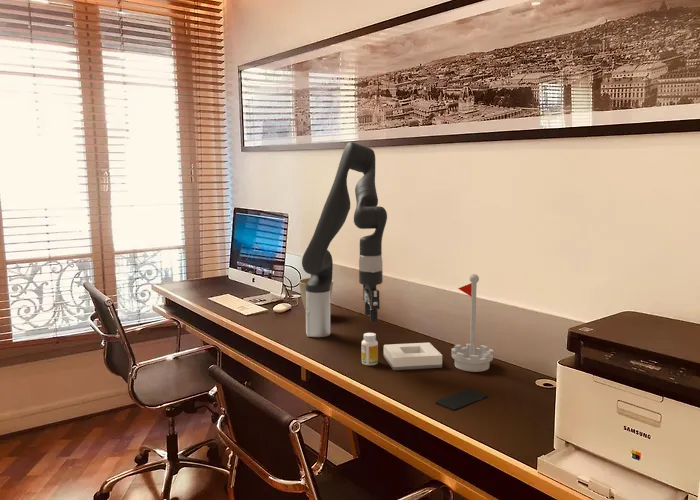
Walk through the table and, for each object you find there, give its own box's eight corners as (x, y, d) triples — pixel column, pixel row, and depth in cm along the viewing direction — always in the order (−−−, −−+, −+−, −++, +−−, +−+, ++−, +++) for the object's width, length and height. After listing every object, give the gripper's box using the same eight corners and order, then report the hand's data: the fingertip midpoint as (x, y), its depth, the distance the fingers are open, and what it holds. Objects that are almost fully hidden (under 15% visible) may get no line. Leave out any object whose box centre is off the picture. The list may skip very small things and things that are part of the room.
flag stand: (497, 363, 186) (500, 272, 181) (486, 375, 174) (489, 279, 170) (458, 357, 192) (460, 269, 188) (445, 368, 180) (447, 275, 176)
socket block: (393, 370, 179) (393, 357, 178) (383, 356, 192) (383, 344, 192) (442, 367, 181) (442, 355, 181) (429, 353, 195) (429, 342, 194)
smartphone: (489, 395, 157) (453, 409, 148) (488, 398, 158) (453, 412, 148) (469, 387, 163) (434, 401, 153) (469, 390, 163) (433, 404, 153)
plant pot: (292, 316, 246) (291, 280, 244) (318, 310, 256) (318, 276, 254) (313, 323, 235) (313, 285, 233) (340, 317, 245) (340, 280, 243)
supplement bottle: (379, 361, 187) (380, 332, 186) (375, 366, 182) (375, 337, 181) (364, 359, 189) (364, 331, 188) (359, 364, 184) (359, 335, 183)
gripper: (355, 265, 188) (355, 313, 190) (363, 273, 174) (364, 324, 176) (377, 265, 189) (377, 312, 191) (387, 272, 175) (387, 323, 177)
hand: (371, 318), depth 184 cm, fingers open, 8 cm apart
